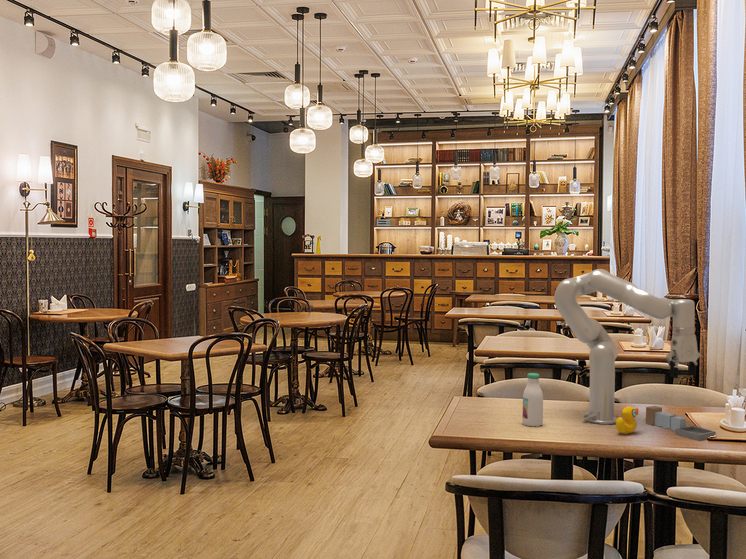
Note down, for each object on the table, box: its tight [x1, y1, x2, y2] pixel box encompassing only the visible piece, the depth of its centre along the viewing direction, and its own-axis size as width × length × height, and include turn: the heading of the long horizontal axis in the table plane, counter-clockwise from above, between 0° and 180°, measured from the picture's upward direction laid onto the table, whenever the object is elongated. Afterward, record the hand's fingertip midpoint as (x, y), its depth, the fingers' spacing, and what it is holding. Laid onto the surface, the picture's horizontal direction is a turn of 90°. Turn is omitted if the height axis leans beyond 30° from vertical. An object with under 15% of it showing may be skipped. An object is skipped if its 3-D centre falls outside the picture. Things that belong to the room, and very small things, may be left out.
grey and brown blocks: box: [645, 405, 677, 430], centre depth 267 cm, size 5×10×6 cm, turn 29°
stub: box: [670, 415, 687, 431], centre depth 260 cm, size 4×4×5 cm
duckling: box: [615, 405, 639, 435], centre depth 255 cm, size 11×5×10 cm, turn 122°
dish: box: [674, 425, 717, 441], centre depth 253 cm, size 10×10×2 cm
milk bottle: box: [522, 372, 544, 427], centre depth 267 cm, size 8×8×20 cm
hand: (683, 376), depth 260 cm, fingers open, 9 cm apart
